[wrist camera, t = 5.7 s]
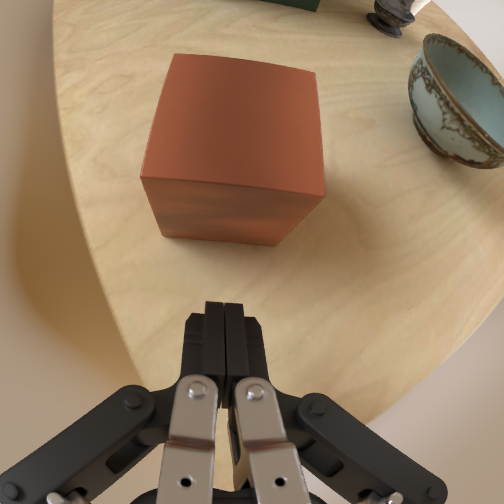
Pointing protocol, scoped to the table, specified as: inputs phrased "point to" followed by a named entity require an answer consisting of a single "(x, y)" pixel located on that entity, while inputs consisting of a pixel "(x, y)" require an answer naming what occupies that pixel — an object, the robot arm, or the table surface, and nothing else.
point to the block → (234, 150)
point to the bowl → (457, 104)
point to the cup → (418, 5)
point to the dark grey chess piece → (391, 16)
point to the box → (299, 3)
